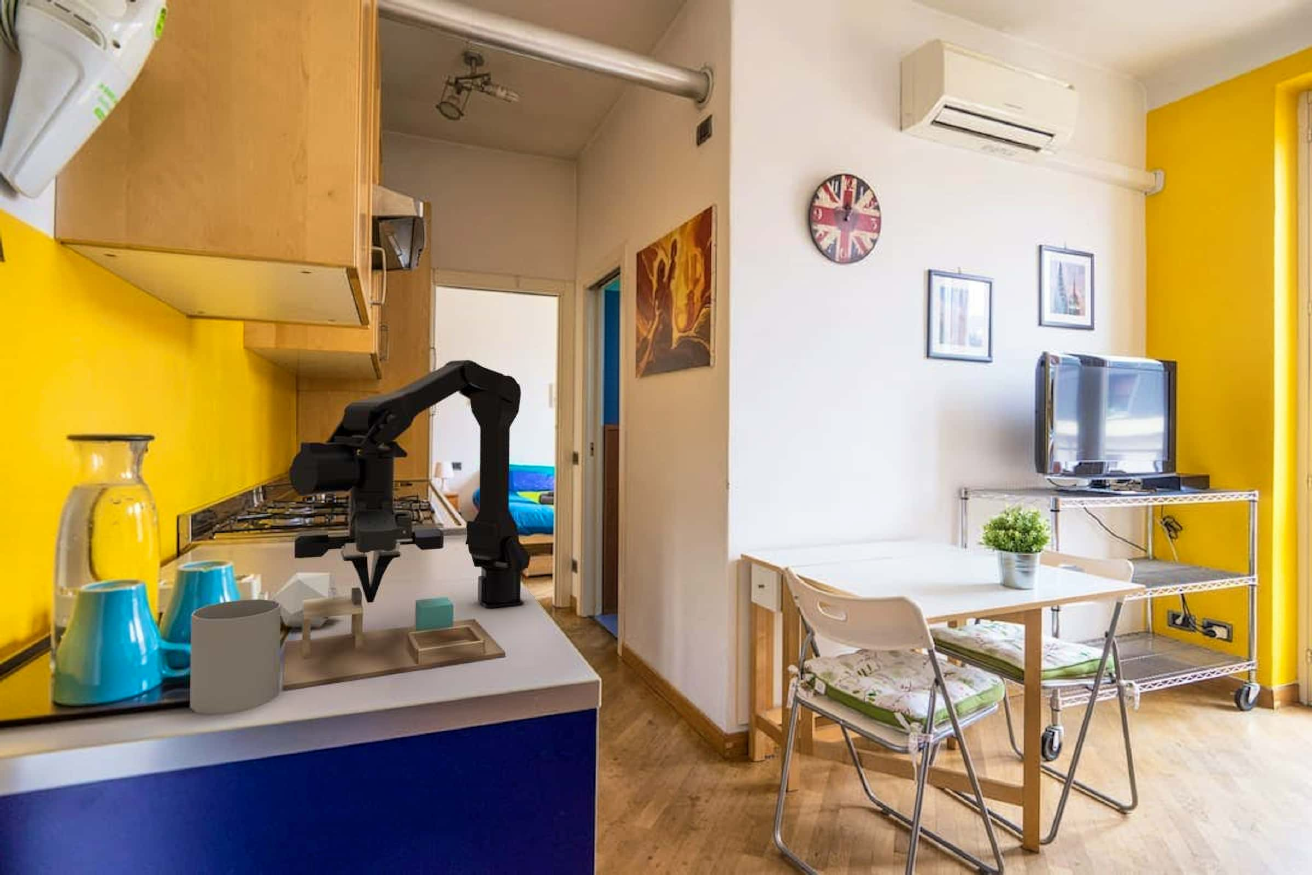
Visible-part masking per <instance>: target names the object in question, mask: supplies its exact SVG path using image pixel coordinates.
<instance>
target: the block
mask: <svg viewBox="0 0 1312 875" xmlns="http://www.w3.org/2000/svg"><path fill="white" fill-rule="evenodd" d="M414 608H415V610H414V611H415V612H414V614H415V615H414V616H415V618H414V626H415V631H416V632H418V631H426V630H434V629H441V628H449V627H453V621H454V603H453V602H452V601H451V600H450V599H449V597H447V596H445V597H443V596H442V597H434V598H426V599H415V606H414Z"/></svg>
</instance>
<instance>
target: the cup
mask: <svg viewBox="0 0 1312 875" xmlns="http://www.w3.org/2000/svg"><path fill="white" fill-rule="evenodd" d="M280 611H281V603H279V602H276V601H274V599H273V600H271V599H261V598H260V599H259V598H258V599H257V598H255V599H239V600H230V601H223V602H218V603H213V604H210V605H209V604H208V605H205V606H203V607H200V608H198V609H196V610H193V612H192V613H191V616H190V617H191V621H190V678H189V679H190V682H189V683H190V684H189V685H190V686H189V689H190V690H189V696H190V697H189V708H190V710H192V711H193V712H195V713H196V714H205V715H221V714H222V715H223V714H232V713H237V712H241V711H245V710H251V709H254V708H257V707H259V706H261V705H264V704H267V703H269V702H270V701H272V700H273V699H275V698H276V697H278V696H279V693H280V671H281V669H280V668H281V667H280V666H281V665H280V664H281V663H280V662H281V657H280V656H281V615H280Z"/></svg>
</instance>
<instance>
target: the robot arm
mask: <svg viewBox="0 0 1312 875" xmlns="http://www.w3.org/2000/svg"><path fill="white" fill-rule="evenodd" d="M457 392H458V393H459V395H461V396H463V397H465V398H467V399H468V400H469V401H470V402H469V403H470V409H471V413H472V415H473V417H474V418H475V420H476V422H477V424H478V426H479V508H478V512H477V513H476V515H475V516H474V519H473V520H468V521H466V525H465V526H466V538H465V543H464V544H465V545H467V547H468V552H469V554H470V556H471V559H472V563H473V566H474V567H476V568H481V570H480V571H481V575H479V576H478V577H477V600H478V601H479V602H480V603H481V604H482V605H483V606H484V608H487V609H491V608H501V607H510V606H518V605H524V603H525V602H524V600H522V598H521V591H522V590H521V588H522V586H521V585H522V584H521V582H522V581H521V579H522V578H521V577H522V572H523V571H525V570H526V569H528V568H529V565H530V562H531V554H530V553H529V552H528V551H527V550H526V548H525V547H524V545H523V544H522V543H521V541H520V537H519V535H520V534H519V526H518V524H517V522H516V520H515V518H514V517H513V515H512V513H511V511H510V437H511V436H510V434H511V432H510V430H511V426H512V424H513V423H514V420H515V419H516V418H517V416H518V414H519V411H520V403H521V396H522V390H521V386H520V383H518V381H517V380H516V379H515V378H514V377H513V376H511V375H505V374H503V373H502V372H498V371H495V370H492V369H490V368H487V367H485V366H482V365H481V364H479V363H477V362H476V361H473V360H470V359H461V360H460V359H459V360H450V361H448V362H446V363H445V364H444V365H443V366H442V367H439V368H438V369H436V370H434V371H431V372H430V373H428V374H426V375H425V376H423V377H419V378H418V379H417V380H415V381H413V382H411V383H409V384H407V385H406V386H403V387H401V388H399V389H398V390H396V391H393V392H389V393H385V394H379V395H374V396H370V397H367V398H363V399H360V400H354V401H353V402H351V403H349V404H348V405H347V406H346V407H344V409H343V411H344V413H343V416H342V419H341V421H340V422H339V423H338V425H337V426H336V428H335V429H334V430H333V432H332V433H331V435H329V437H328V439H327V440H326V442H323V443H322V442H318V441H317V442H315V441H301V443H300V451H299V452H298V453H297V454H296V455H295V456H294V458H293V460H292V462H291V466H290V467H289V472H288V475H289V482H290V485H291V488H292V489H293V490H294V492H295V493H296V494H298V495H299V496H302V497H304V496H318V495H319V496H320V495H331V494H343V493H348V492H349V493H348V496H349V497H348V499H349V500H348V534H342V535H338V534H337V535H329V532H328V530H327V529H324V530H323V529H321V530H304V531H303V530H302V531H300V530H299V531H298V532H297V533H296V534H295V535H294V544H293V545H294V549H293V550H294V553H293V554H294V559H308V558H309V559H310V558H322V557H323V556H324V555H325V554H326V553H327V552H329V550H340V556H341V558H342V561H343V562H351V563H352V564H353V567H354V569H355V571H356V573H357V576H358V579H359V581H360V585H361V587H362V592H363V593H364V598H365V600H366V603H367V604H371V603H374V602H375V598H376V596H377V592H378V590H379V587H380V585H381V581H382V579H383V576H384V574H385V572H386V570H387V568H388V566H389V565H390V564H391V562H392V561H393V559H395V558H396V559H397V558H401V555H402V553H401V552H400V551H399V550H400V548H401V546H407V545H415V546H416V547H417V548H418V549H419V550H421V551H428V550H441V549H444V539H445V538H444V531H442V530H441V529H440V528H439V527H438V526H436V525H435V524H425V525H420V524H419V525H413V515H412V512H411V511H405V512H403V511H402V512H396V513H395V511H394V501H395V496H394V495H395V492H394V491H395V489H394V487H395V458H399V459H400V458H407V457H408V454H409V453H408V452H407V451H406V450H405V449H404V448H402V447H401V446H400V445H399V444H398V441H396V440H397V439H398V438H399V437H400V436H401V435H403V434H404V433H405V432H406V431H407V430H408V429H409V428H410V427H411V425H412V424H413V422H414V419H415V418H416V417H417V416H419V415H420V414H421V413H422V412H424V411H426V410H428V409H430V408H431V407H434V406H435V405H436V404H438V403H440V402H442V401H443V400H446V399H448V397H451V396H452V395H454V394H455V393H456V394H457ZM371 552H373V554H372V562H371V574H369V566H368V565H369V564H368V562H369V561H368V554H369V553H371ZM367 553H368V554H367Z"/></svg>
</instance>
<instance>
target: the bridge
mask: <svg viewBox="0 0 1312 875" xmlns="http://www.w3.org/2000/svg"><path fill="white" fill-rule="evenodd" d="M350 594H351V595H343V596H342V595H341V596H340V597H330V598H320V599H310V600H303V618H302V627H301V628H302V629H301V630H302V632H301V635H302V636H301V638H302V639H301V640H302V643H303V658H309V657H310V639H311V627H310V620H311V619H313V618H322V617H328V618H330V617H341V616H347V615H351V624H350V625H351V629H350V630H351V632H350V634H351V636H352V637H353V636H355V650H356V651H361V650H362V639H363V632H364V630H363V627H364V624H363V623H364V607H363V605H362V604H363V593H362V591H361V588H360V587H351V593H350Z"/></svg>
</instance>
